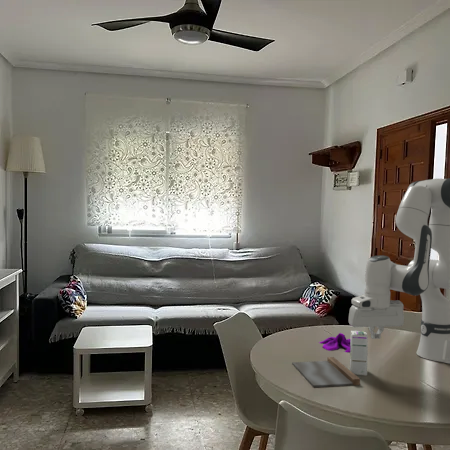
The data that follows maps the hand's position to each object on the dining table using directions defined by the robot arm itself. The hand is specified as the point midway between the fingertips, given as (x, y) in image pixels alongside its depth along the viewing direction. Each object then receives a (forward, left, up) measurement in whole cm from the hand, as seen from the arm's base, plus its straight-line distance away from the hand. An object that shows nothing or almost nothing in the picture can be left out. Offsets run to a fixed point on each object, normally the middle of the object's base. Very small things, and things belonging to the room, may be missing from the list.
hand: (375, 338), depth 165 cm
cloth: (0, -31, -13) cm, 34 cm away
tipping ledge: (+19, 0, -12) cm, 23 cm away
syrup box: (+6, 0, -13) cm, 14 cm away
